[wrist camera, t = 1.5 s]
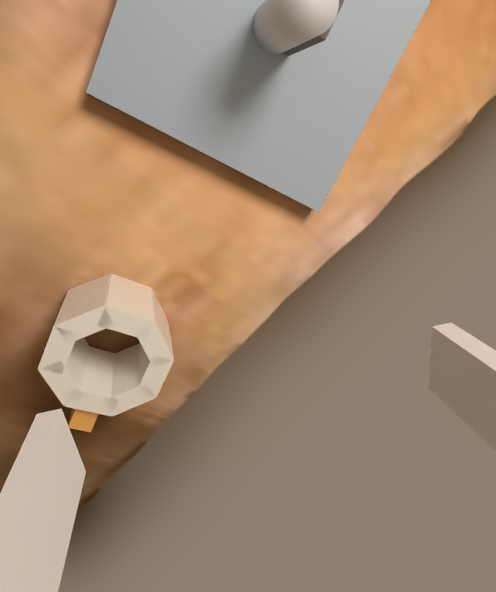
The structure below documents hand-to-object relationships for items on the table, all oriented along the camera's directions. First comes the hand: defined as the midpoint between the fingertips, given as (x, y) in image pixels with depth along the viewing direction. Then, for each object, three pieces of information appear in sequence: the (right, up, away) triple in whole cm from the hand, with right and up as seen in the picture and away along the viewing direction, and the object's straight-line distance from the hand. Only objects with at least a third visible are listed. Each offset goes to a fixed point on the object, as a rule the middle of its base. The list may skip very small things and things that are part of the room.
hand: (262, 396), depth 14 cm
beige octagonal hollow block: (-12, 0, +18) cm, 22 cm away
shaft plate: (+1, +21, +13) cm, 25 cm away
